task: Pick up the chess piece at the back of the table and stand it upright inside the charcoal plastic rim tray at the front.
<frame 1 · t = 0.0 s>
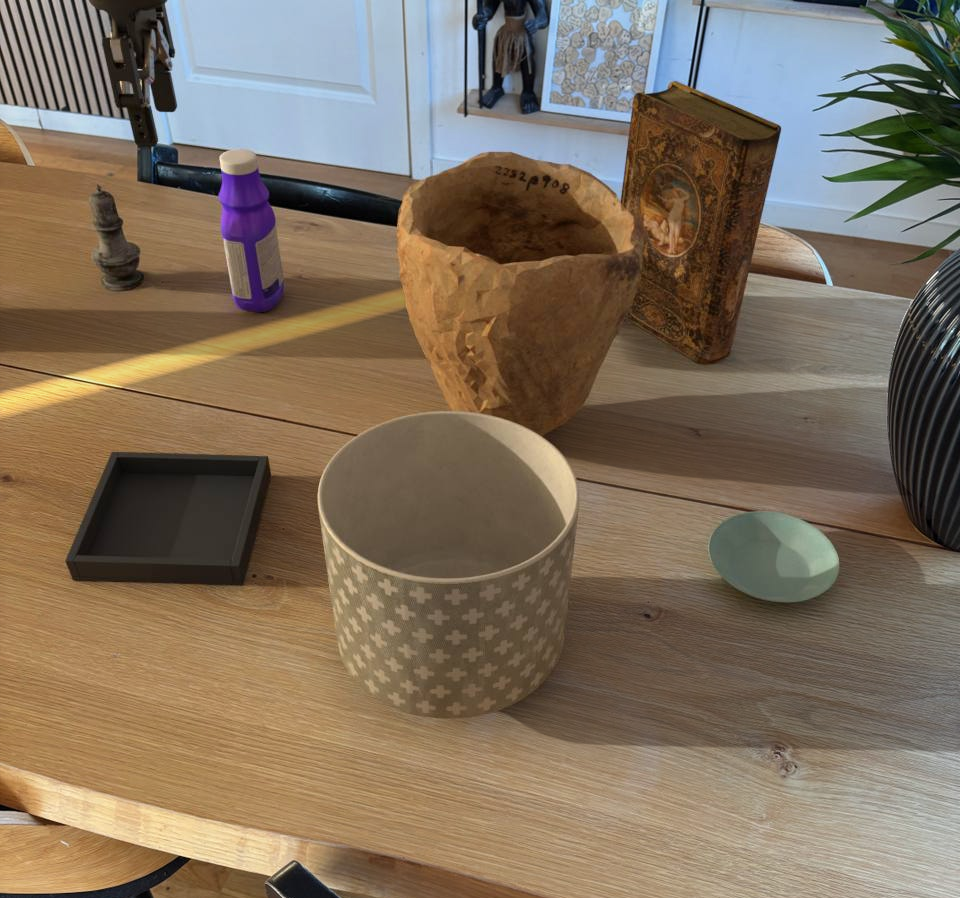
hand: (157, 127, 105), 22 cm above the table, tool pointing down, fingers open, 8 cm apart
chess piece: (123, 281, 127), on the table
tray: (177, 525, 97), on the table
tan textured vessel: (511, 433, 108), on the table
planter: (450, 653, 87), on the table
book: (671, 330, 122), on the table
saucer: (767, 573, 94), on the table
bottle: (260, 302, 125), on the table
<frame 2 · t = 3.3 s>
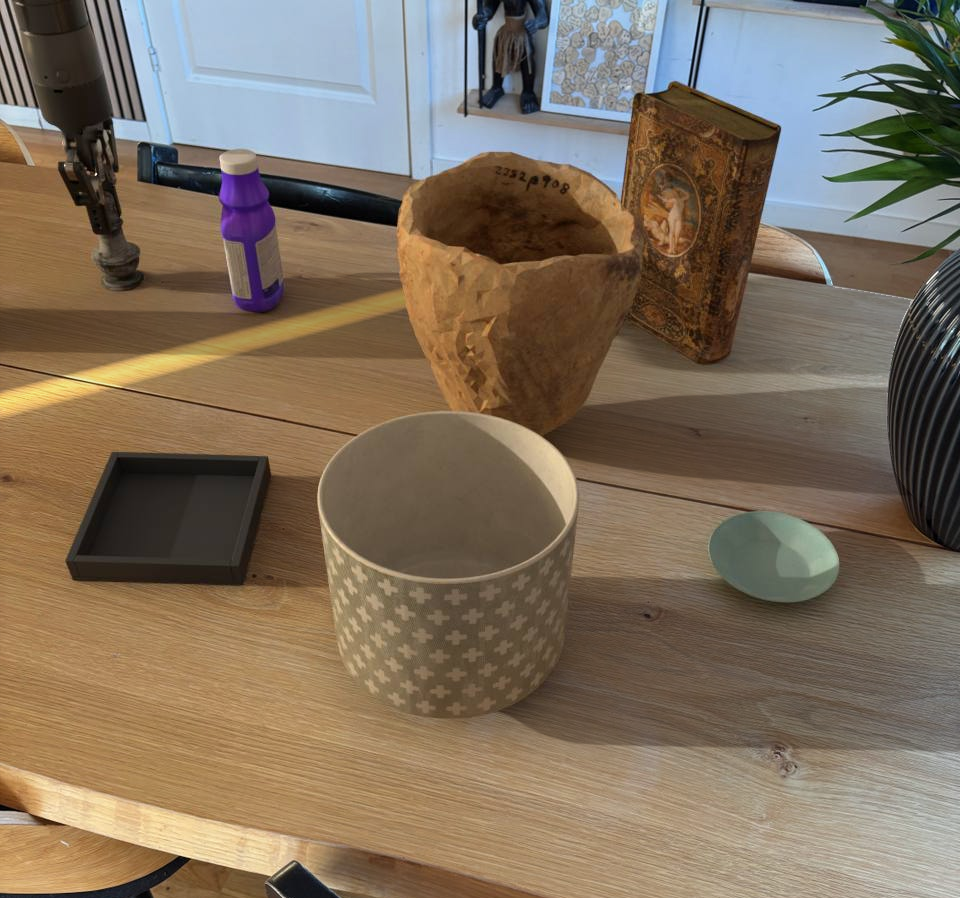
hand: (108, 224, 122), 7 cm above the table, tool pointing down, fingers closed on chess piece, 3 cm apart
chess piece: (123, 281, 127), on the table, touching gripper
everything else where it was.
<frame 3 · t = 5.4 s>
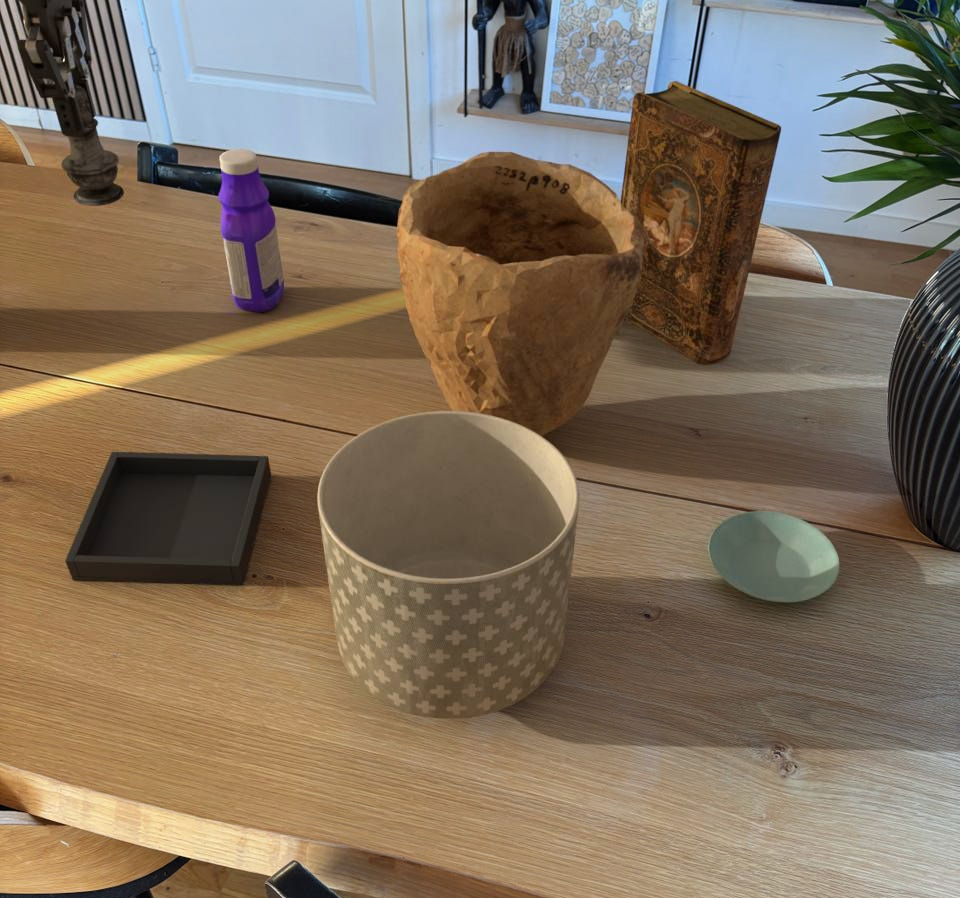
hand: (79, 125, 105), 22 cm above the table, tool pointing down, fingers closed on chess piece, 3 cm apart
chess piece: (99, 196, 110), point 15 cm above the table, touching gripper
everything else where it was.
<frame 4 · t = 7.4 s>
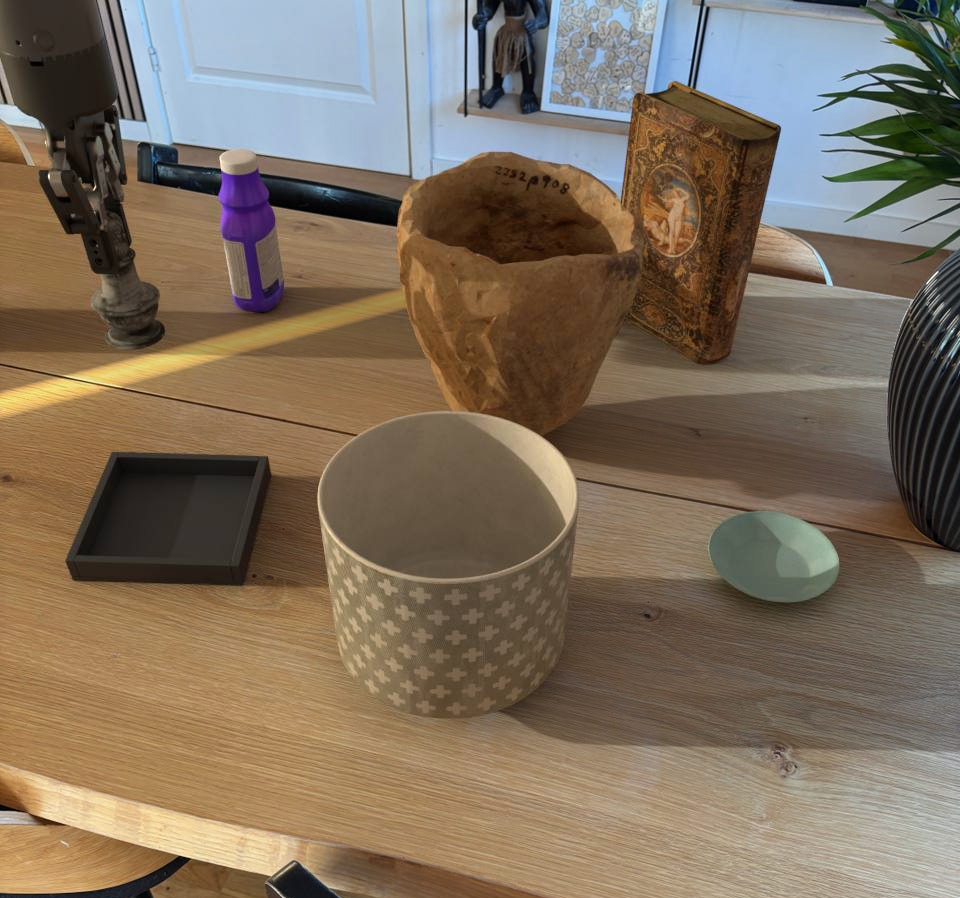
hand: (113, 258, 86), 23 cm above the table, tool pointing down, fingers closed on chess piece, 3 cm apart
chess piece: (136, 336, 91), point 15 cm above the table, touching gripper
everything else where it was.
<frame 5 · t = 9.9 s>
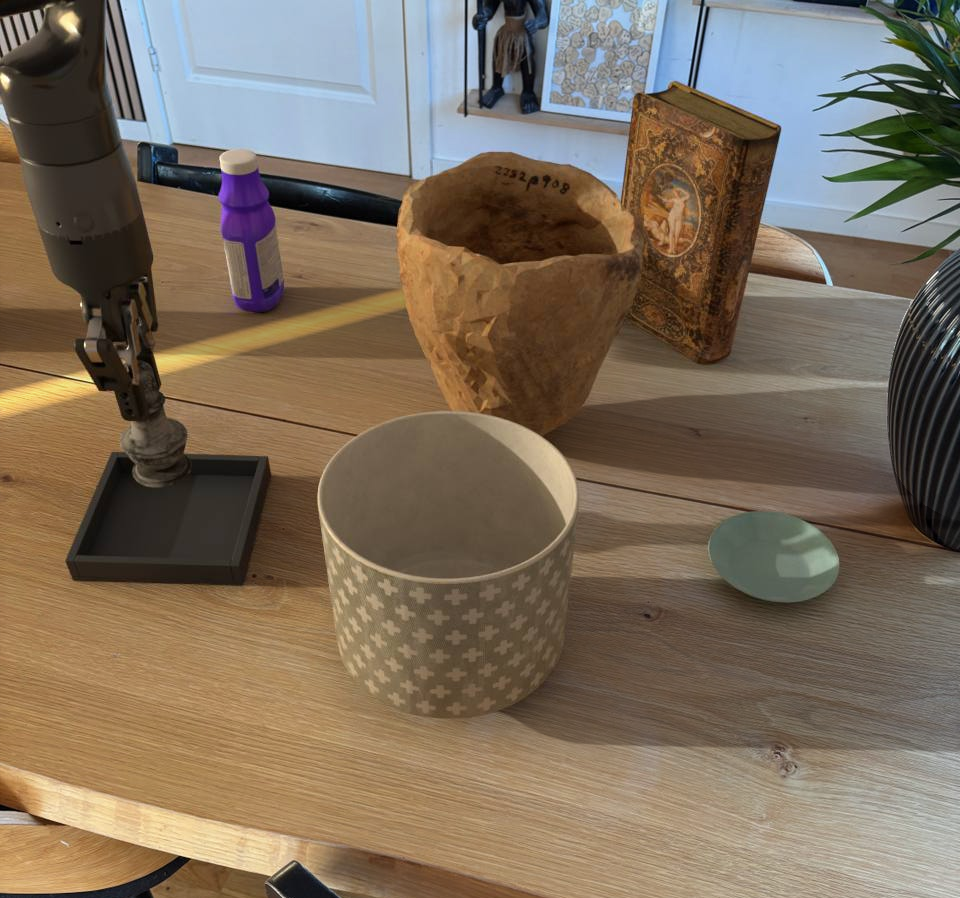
hand: (142, 403, 87), 14 cm above the table, tool pointing down, fingers closed on chess piece, 3 cm apart
chess piece: (162, 470, 93), point 7 cm above the table, touching gripper
everything else where it was.
when the fingers open (8 cm above the table, at t = 11.7 s): chess piece stays where it is, resting on tray.
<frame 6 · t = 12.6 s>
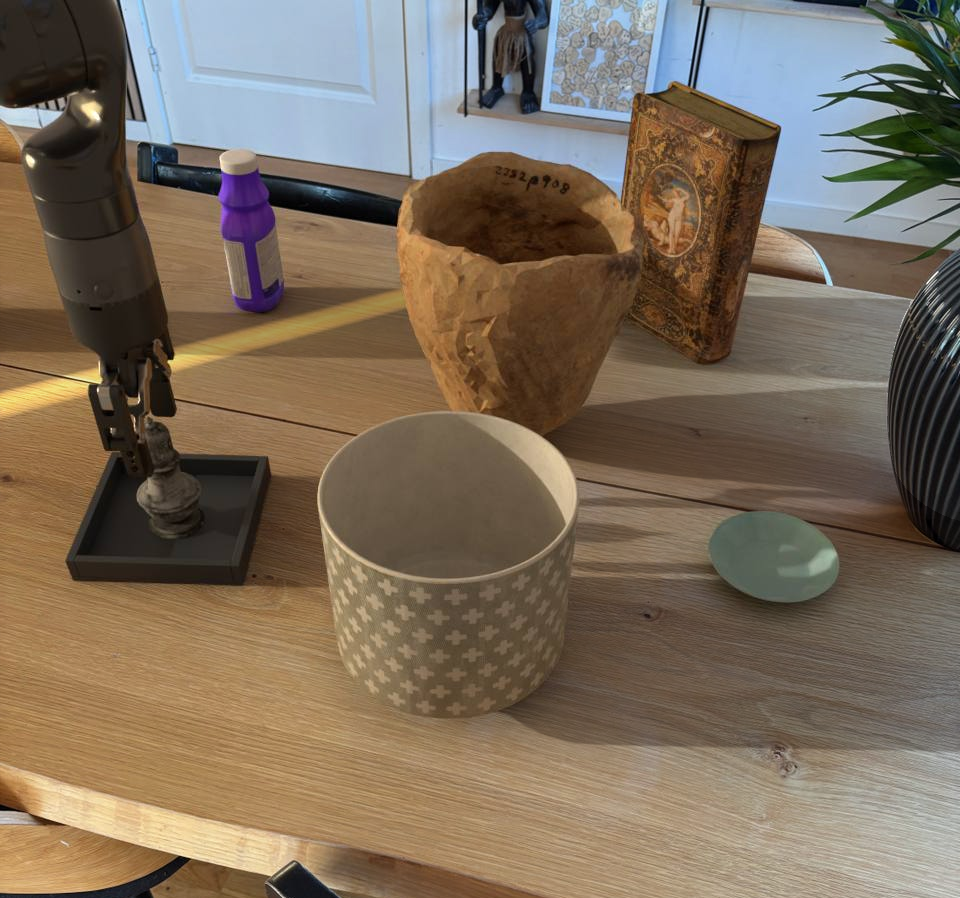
hand: (153, 444, 90), 10 cm above the table, tool pointing down, fingers open, 8 cm apart
chess piece: (177, 521, 97), resting on tray
everything else where it was.
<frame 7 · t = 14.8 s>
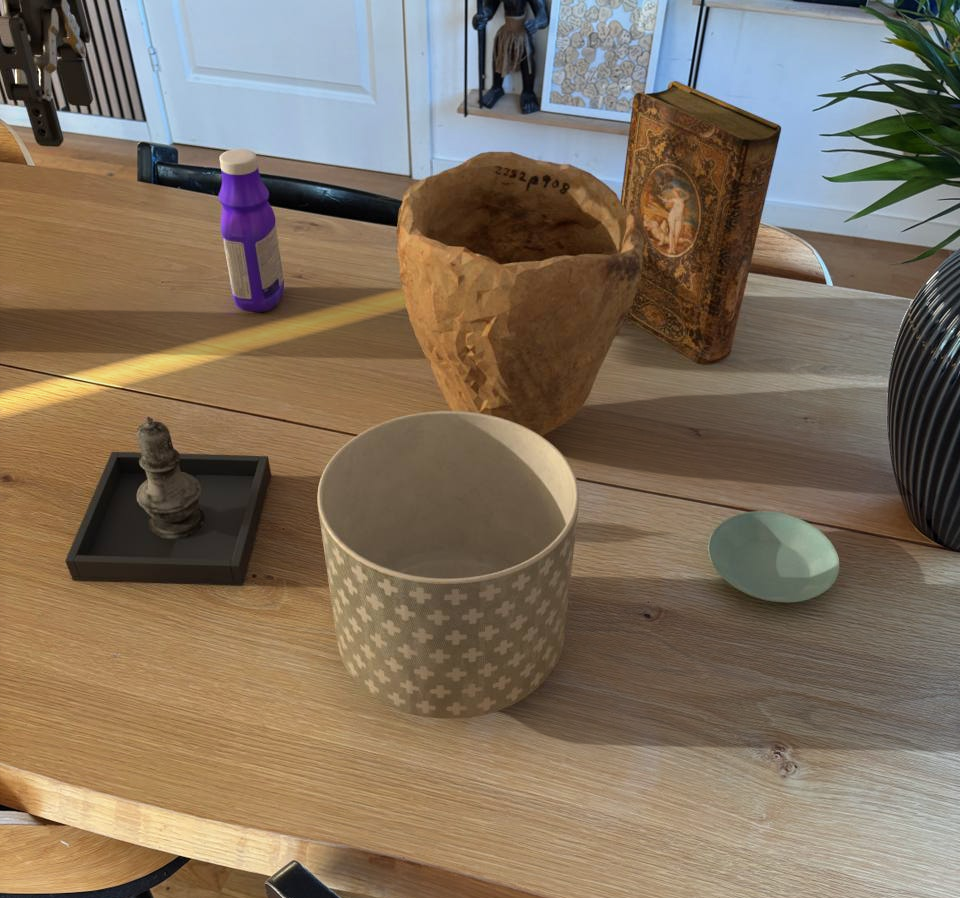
hand: (66, 124, 90), 28 cm above the table, tool pointing down, fingers open, 8 cm apart
nothing on the table moved.
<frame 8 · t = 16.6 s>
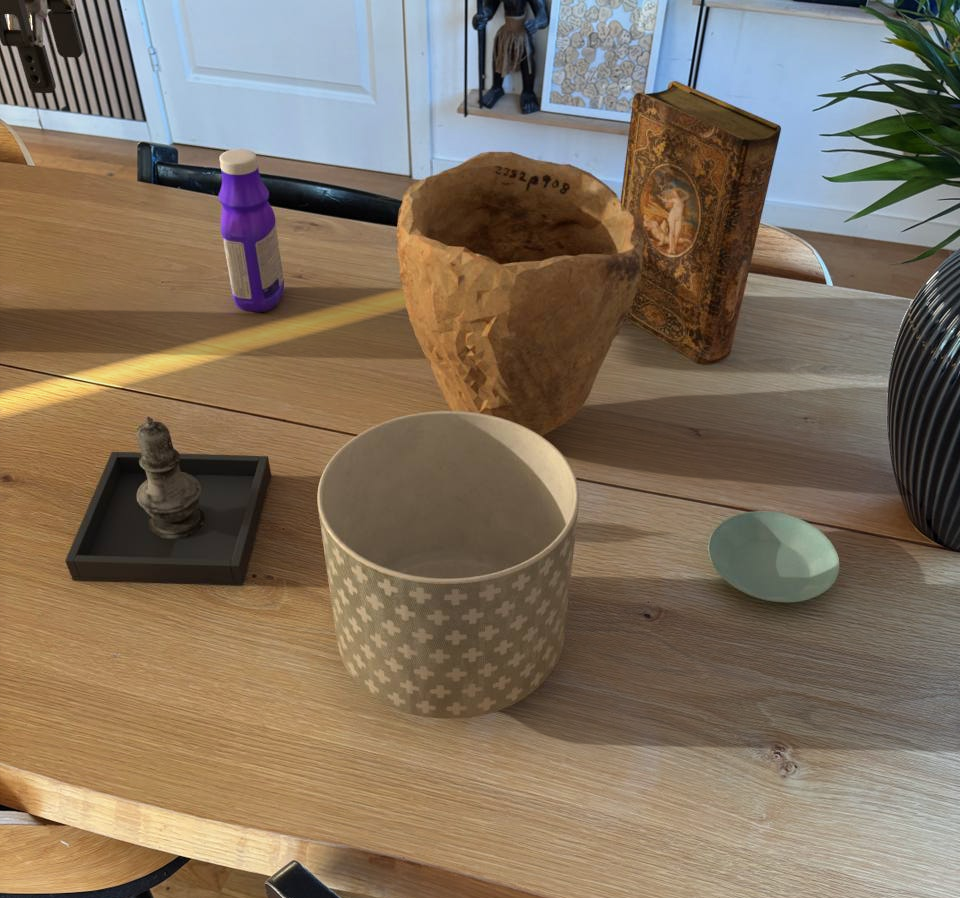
hand: (58, 73, 93), 30 cm above the table, tool pointing down, fingers open, 8 cm apart
nothing on the table moved.
at the end: chess piece inside the target area in the tray (0.1 cm from its centre), point 0.3 cm above the tray's base; chess piece tilted 0° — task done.
